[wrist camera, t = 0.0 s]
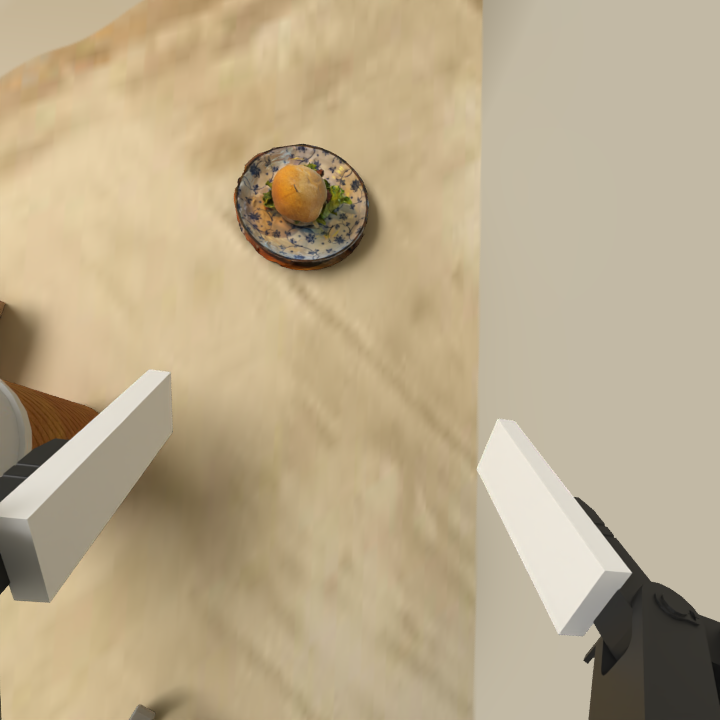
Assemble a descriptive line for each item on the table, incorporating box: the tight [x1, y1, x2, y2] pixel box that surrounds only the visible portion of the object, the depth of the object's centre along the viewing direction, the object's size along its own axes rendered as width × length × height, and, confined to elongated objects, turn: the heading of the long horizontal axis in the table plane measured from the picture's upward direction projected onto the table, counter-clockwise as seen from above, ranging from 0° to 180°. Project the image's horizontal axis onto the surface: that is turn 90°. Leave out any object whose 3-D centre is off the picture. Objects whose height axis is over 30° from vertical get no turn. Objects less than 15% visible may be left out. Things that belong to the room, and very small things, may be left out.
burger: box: [234, 144, 369, 270], centre depth 29 cm, size 12×12×8 cm
